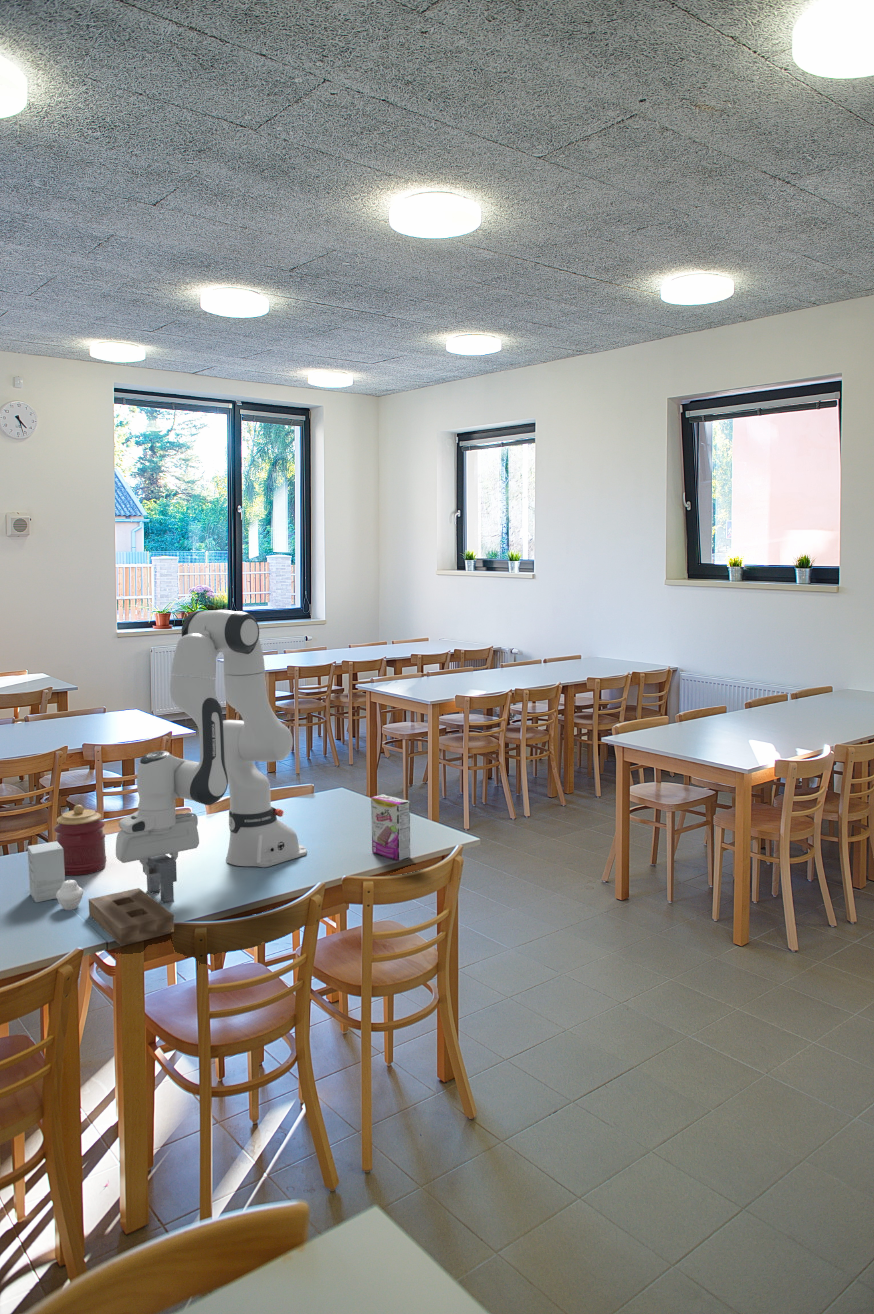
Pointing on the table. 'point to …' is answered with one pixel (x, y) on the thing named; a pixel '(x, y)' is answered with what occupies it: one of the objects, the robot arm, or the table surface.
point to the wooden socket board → (131, 916)
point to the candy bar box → (390, 827)
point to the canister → (81, 841)
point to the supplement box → (45, 870)
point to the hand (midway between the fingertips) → (159, 872)
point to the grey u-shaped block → (162, 877)
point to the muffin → (69, 895)
